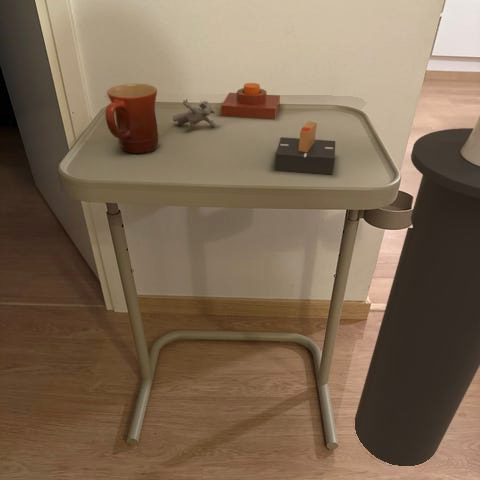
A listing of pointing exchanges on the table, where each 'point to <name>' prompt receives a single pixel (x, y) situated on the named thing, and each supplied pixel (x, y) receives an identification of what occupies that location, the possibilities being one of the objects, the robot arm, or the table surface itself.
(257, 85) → the button
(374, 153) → the table surface
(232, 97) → the button box
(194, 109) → the grey branched piece
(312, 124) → the tan upright tile
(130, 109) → the mug
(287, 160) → the panel
